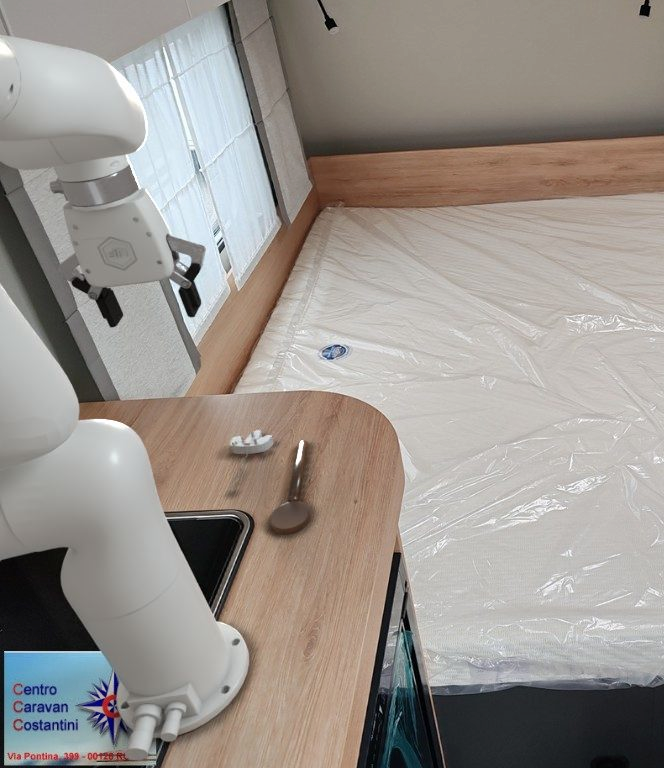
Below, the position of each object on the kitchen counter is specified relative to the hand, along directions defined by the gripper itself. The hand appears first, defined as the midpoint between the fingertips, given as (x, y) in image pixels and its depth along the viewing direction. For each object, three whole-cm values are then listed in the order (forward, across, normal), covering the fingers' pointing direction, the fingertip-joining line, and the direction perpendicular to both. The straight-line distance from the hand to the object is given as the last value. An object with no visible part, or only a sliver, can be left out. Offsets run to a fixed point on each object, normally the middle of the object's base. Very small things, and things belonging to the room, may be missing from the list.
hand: (156, 317), depth 95 cm
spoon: (+21, +14, -11) cm, 28 cm away
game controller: (+22, +6, -5) cm, 23 cm away
